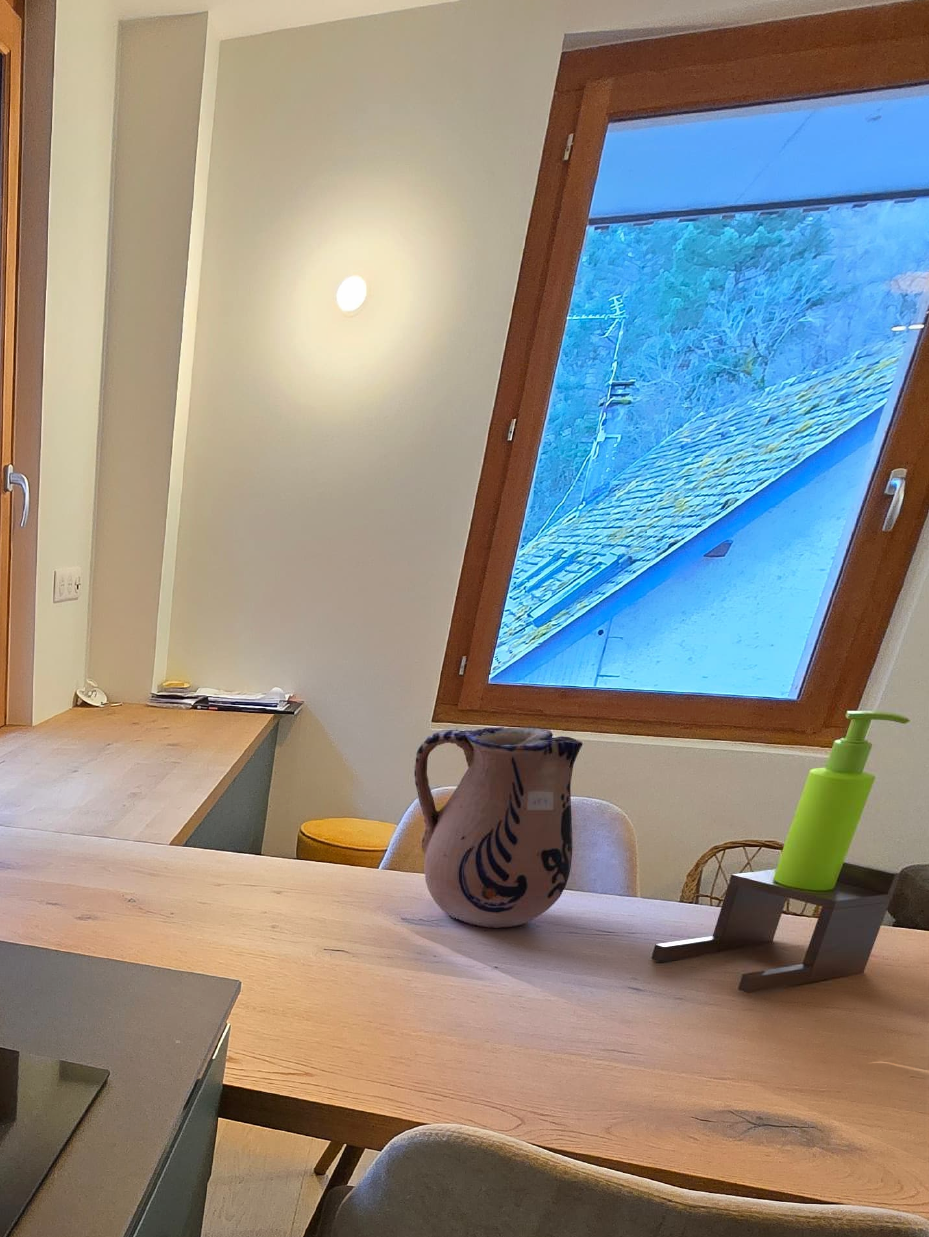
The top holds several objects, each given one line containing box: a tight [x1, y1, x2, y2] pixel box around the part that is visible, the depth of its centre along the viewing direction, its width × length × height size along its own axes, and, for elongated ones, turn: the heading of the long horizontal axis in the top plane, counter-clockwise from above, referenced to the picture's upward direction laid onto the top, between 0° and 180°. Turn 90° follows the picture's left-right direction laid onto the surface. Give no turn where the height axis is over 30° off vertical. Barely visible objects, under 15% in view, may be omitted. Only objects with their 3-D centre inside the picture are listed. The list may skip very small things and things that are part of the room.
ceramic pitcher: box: [414, 726, 583, 929], centre depth 138 cm, size 18×21×25 cm
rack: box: [650, 860, 901, 994], centre depth 124 cm, size 12×20×12 cm, turn 110°
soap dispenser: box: [773, 710, 911, 890], centre depth 119 cm, size 6×7×20 cm
